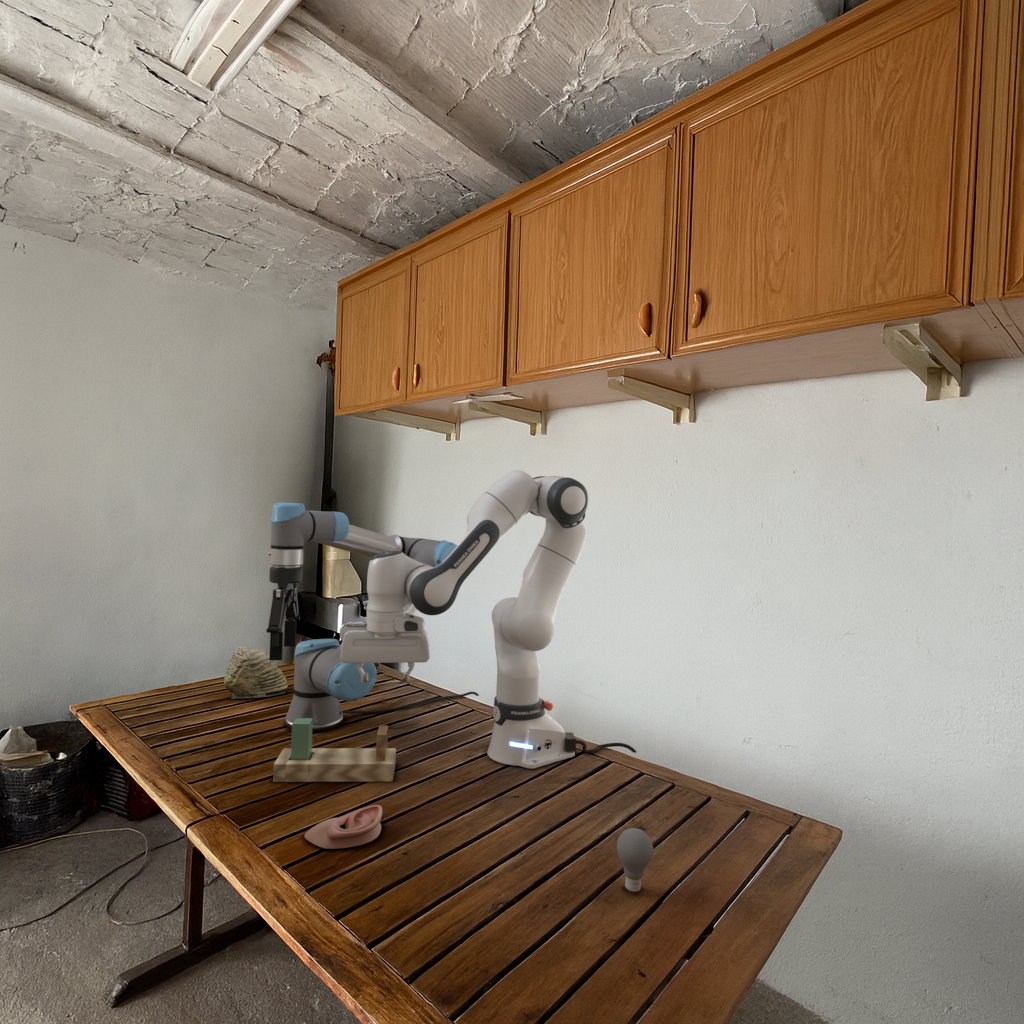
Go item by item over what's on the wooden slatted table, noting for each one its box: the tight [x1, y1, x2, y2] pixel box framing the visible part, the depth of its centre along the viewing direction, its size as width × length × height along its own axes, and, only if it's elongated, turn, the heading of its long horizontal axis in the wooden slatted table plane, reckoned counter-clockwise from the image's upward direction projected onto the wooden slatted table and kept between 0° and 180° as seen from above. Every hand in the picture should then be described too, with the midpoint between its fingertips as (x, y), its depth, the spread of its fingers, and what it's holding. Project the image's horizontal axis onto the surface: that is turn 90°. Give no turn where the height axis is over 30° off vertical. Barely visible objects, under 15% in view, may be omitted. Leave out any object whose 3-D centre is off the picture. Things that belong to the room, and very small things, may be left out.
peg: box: [290, 718, 313, 760], centre depth 144 cm, size 4×4×12 cm
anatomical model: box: [303, 804, 383, 850], centre depth 119 cm, size 13×4×12 cm
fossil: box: [223, 646, 289, 700], centre depth 198 cm, size 9×18×15 cm, turn 132°
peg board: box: [272, 725, 397, 783], centre depth 145 cm, size 26×9×10 cm, turn 96°
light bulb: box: [616, 827, 654, 893], centre depth 106 cm, size 6×6×10 cm
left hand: (283, 652), depth 154 cm, fingers open, 13 cm apart
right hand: (385, 681), depth 146 cm, fingers open, 8 cm apart
